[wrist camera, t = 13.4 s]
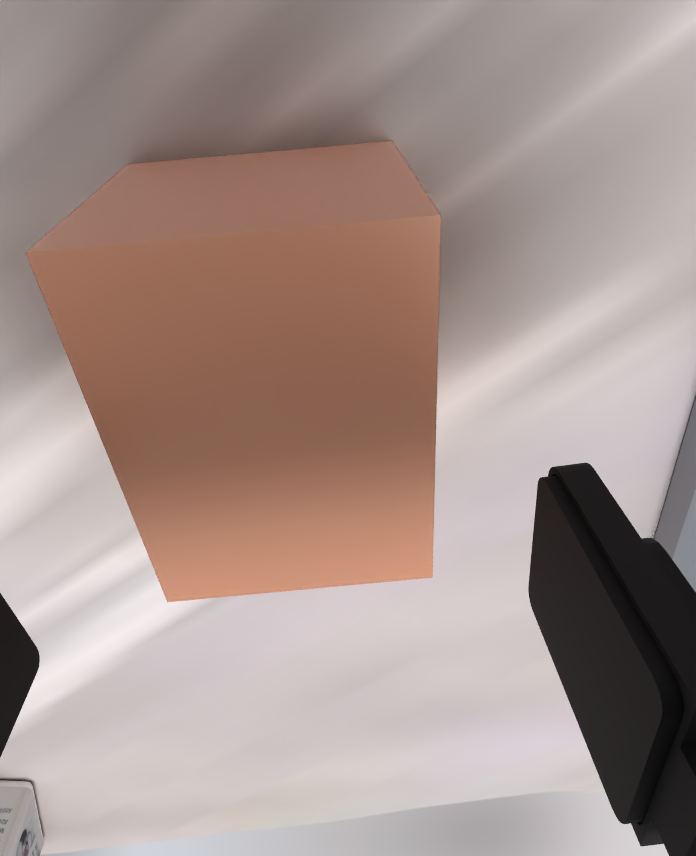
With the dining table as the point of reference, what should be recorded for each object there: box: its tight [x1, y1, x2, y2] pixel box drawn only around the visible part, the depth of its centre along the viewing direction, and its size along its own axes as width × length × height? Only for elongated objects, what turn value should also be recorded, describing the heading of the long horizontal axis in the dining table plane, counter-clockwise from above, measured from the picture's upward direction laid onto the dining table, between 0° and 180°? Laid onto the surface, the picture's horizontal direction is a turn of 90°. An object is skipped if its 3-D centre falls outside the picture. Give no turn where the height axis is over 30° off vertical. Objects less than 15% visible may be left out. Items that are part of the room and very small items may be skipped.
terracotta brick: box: [26, 141, 441, 602], centre depth 13 cm, size 8×6×6 cm
